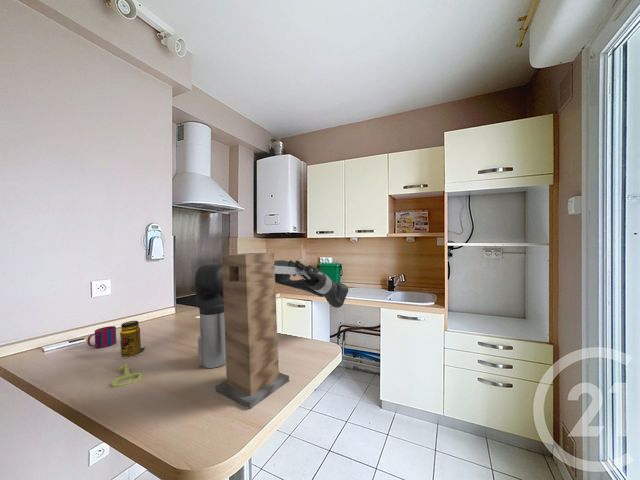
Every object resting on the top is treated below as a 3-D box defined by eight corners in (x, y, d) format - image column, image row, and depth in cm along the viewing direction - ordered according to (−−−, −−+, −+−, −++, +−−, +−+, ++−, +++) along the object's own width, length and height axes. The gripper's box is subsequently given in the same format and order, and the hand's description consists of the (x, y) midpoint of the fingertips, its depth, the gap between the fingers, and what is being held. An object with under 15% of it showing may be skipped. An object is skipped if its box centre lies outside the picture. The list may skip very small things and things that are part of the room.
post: (256, 368, 80) (251, 252, 80) (289, 381, 72) (284, 252, 72) (216, 391, 68) (211, 255, 68) (250, 409, 60) (244, 255, 60)
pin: (303, 274, 92) (303, 268, 92) (308, 275, 90) (309, 268, 91) (252, 272, 72) (252, 264, 73) (257, 272, 71) (258, 264, 71)
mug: (120, 342, 106) (119, 326, 106) (92, 352, 97) (92, 335, 97) (109, 341, 109) (108, 325, 109) (81, 351, 99) (80, 333, 99)
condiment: (116, 360, 90) (115, 326, 90) (124, 350, 98) (123, 320, 98) (140, 355, 93) (139, 323, 93) (146, 347, 101) (145, 317, 101)
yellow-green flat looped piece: (127, 369, 83) (127, 362, 83) (144, 379, 77) (144, 372, 77) (100, 379, 77) (100, 372, 77) (115, 392, 71) (115, 384, 71)
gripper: (307, 271, 103) (281, 253, 91) (336, 273, 95) (311, 252, 83) (302, 289, 100) (274, 272, 87) (331, 292, 92) (305, 274, 80)
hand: (292, 263), depth 85 cm, fingers closed on pin, 2 cm apart
